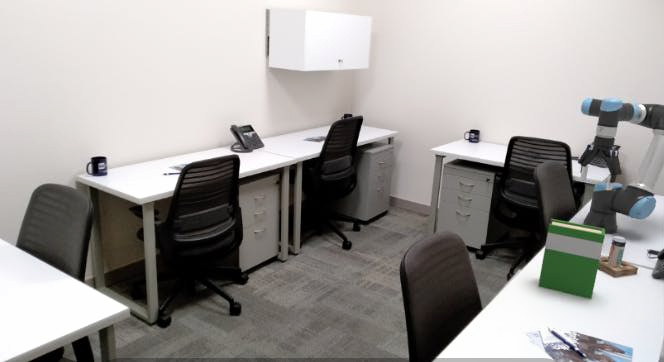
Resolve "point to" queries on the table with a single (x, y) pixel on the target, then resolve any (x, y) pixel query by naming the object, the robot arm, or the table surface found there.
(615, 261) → the beer can
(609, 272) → the picture frame
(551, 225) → the hardback book
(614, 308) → the table surface
